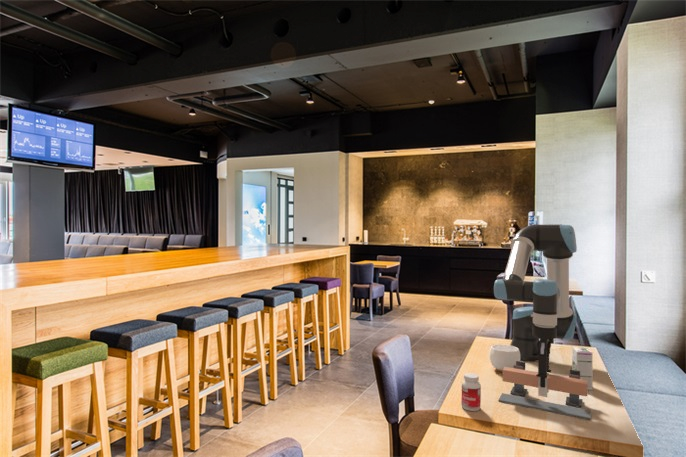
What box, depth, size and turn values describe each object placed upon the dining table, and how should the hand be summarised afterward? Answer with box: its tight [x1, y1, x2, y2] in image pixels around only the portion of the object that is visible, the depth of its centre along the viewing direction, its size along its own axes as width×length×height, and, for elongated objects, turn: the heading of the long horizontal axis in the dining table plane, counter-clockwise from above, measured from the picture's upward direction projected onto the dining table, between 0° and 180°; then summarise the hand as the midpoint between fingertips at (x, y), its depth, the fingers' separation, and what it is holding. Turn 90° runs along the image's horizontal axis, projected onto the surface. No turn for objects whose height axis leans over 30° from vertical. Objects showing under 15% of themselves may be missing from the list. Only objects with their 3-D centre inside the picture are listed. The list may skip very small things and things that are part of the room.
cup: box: [489, 343, 521, 373], centre depth 184 cm, size 12×12×10 cm
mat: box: [498, 392, 592, 421], centre depth 147 cm, size 7×28×1 cm, turn 60°
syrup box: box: [571, 346, 594, 391], centre depth 166 cm, size 6×6×14 cm
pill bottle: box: [461, 372, 482, 412], centre depth 146 cm, size 6×6×11 cm
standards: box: [510, 360, 583, 409], centre depth 155 cm, size 7×23×11 cm, turn 60°
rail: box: [502, 367, 588, 397], centre depth 147 cm, size 4×26×4 cm, turn 60°
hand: (543, 393), depth 147 cm, fingers closed on rail, 4 cm apart
